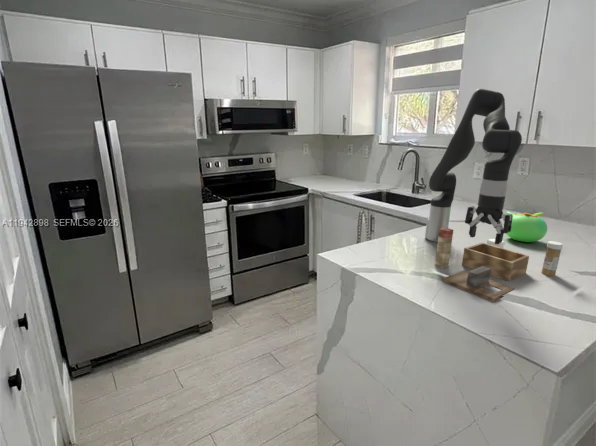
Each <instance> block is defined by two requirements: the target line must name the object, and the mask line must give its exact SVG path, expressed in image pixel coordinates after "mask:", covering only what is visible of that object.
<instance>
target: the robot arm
mask: <svg viewBox="0 0 596 446" xmlns="http://www.w3.org/2000/svg"><path fill="white" fill-rule="evenodd" d="M475 115H476V116H480V117H485V118H484V120H483V125H482V126H483V130H484V136H483V139H482V143H481V144H482V149H483V150H484V151H485V152H487V153H494V154H503V155H502V156H501V157H500V158H497V159H492V160H491V159H490V160H488V161H486V162H485V164H484V169H483V176H482V181H481V182H480V189H479V194H478V202H477V207H475V206H469V207H467V211H466V215H465V220H464V224H467V225H469V231H468V235H469V237H470V238H475V237H476V234H477V228H478V226H477V225H478V224H480V223H483V224H487V225H492V226H493V228H494V229H495V231H496V234H495V238H496V239H495V244H500V243H501V242H502V240H504V234H506V233H509V232H511V226H512V218H513V215H512V214H509V215H507V213H506V214H505V213H504V212H503V210H504V206H505V200H506V195H507V190H508V179H509V176H510V175H509V174H510V169H511V166H512V163H513V160H514V159H515V156H516V154H517V153H518V150H520V147H521V145H522V141H523V140H522V134H521V132H520V131H519V130H516V129H510V124H509V122H508V120H507V117H506V101H505V96H504V95H503V93H501V92H498V91H494V90H491V89H485V88H476V90H475V91H474V92H473V93H472V95H471V97H470V99H469V101H468V104H467V106H466V108H465V111H464V113H463V116H462V118H461V120H460V122H459V125H458V127H457V129H456V130H455V133H454V134H453V136H452V138H451V139H450V142H449V143H448V145H447V148H446V150H445V152H444V154H443V156H442V157H441V160H440V161H439V163H438V164H437V166H436V167H435V169H434V170H433V172H432V173H431V175H430V177H429V181H428V186H429V190H431V191H432V192H440V194H439V195H437V196H435V197H433V198H432V199H431V200H430V206H429V207H430V208H429V215H428V219H427V220H426V224H425V225H426V227H425V232H424V238H425V239H426V240H428V241H430V242H435V243H438V236H439V229H441V228H449V227H450V226H449V225H450V217H451V211H452V210H451V209H452V204H453V201H454V197H455V192H456V191H455V190H456V187H457V177H456V174H455V173H454V172H452V171H451V170H452V169H454V168H456V166H458V165H460V164H461V163H463V162H464V161H465V160H467V158H468V156H469V155H470V153H471V152H472V150H473V148H474V146H475V143H476V139H475V134H474V133H475V132H474V129H473V118H474V117H475ZM450 171H451V172H450ZM475 213H476V217H475V218H474V214H475ZM473 218H474V219H473ZM501 219H502V221H504V222H503V223H502V221H501Z"/></svg>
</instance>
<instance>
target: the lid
mask: <svg viewBox="0 0 596 446" xmlns="http://www.w3.org/2000/svg"><path fill="white" fill-rule="evenodd" d="M490 272H491V269H490V268H487V267H484V266H481V267H479V268H476V269H471V270H469V271H467V270H464V269H463V270H460V271H458V272H455V273H453V274H450V275H448V276H446V277H443V278H442V282H443V283H446V284H448V285H451V286H453V287H455V288H458V289H461V290H463V291H465V292H468V293H470V294H472V295H474V296H475V295H476V296H478V297H479V298H483V299H485V300H488V301H490V302H492V303H494V302H497V301H498V300H500V299H502V298H504V295H506V294H507V293H510V292H512V291H514V290H515V287H512V286H509V285H506V284H504V283H500V282H497V281H496V280H495V281H494V280H492V279H490V276H491V275H490ZM487 286H490V287H493V288H495V289H498V290H499V291H497V292H493V291H490V290H489V289H486V288H485V287H487Z"/></svg>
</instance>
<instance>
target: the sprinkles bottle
mask: <svg viewBox="0 0 596 446" xmlns="http://www.w3.org/2000/svg"><path fill="white" fill-rule="evenodd" d="M562 249H563V243H562V242H559V241H555V240H549V241H547V244H546V251H545V256H544V258H543V259H544V260H543V264H542V269H541V274H542V275H544V276H546V277H555V276H556V273H557V269H558V265H559V261H560V256H561V251H562Z"/></svg>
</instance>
